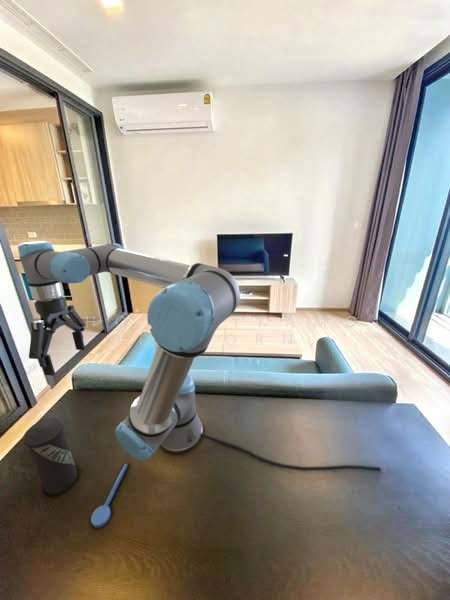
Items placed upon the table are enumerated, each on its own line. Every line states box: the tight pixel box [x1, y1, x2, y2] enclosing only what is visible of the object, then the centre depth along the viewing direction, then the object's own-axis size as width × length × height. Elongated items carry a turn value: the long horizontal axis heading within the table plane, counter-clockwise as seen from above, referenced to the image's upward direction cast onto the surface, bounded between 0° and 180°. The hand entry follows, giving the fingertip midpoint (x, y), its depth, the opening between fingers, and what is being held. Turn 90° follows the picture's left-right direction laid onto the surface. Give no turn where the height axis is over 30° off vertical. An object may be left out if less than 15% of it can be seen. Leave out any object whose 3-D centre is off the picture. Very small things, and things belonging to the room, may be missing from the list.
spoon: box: [90, 463, 129, 528], centre depth 68 cm, size 16×4×1 cm, turn 173°
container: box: [22, 417, 78, 495], centre depth 68 cm, size 9×9×20 cm
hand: (66, 361), depth 78 cm, fingers open, 13 cm apart
